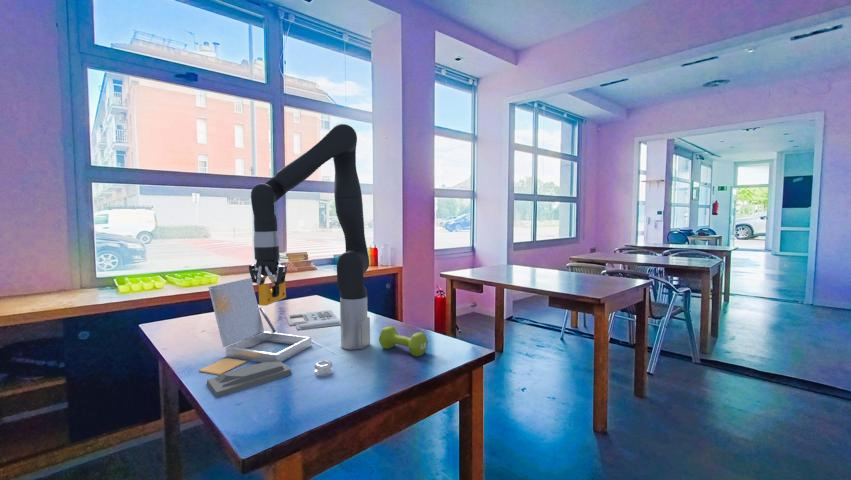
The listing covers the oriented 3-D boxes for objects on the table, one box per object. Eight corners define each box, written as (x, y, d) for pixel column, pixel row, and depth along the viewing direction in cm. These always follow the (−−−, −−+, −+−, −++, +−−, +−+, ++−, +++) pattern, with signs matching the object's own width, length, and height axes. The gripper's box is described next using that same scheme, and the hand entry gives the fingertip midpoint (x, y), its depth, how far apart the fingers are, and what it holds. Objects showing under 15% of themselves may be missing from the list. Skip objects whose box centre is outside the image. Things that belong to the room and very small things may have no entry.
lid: (251, 277, 143) (248, 278, 144) (210, 286, 127) (207, 287, 127) (264, 331, 143) (261, 331, 144) (224, 347, 127) (221, 347, 127)
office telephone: (342, 320, 161) (291, 326, 152) (342, 326, 161) (291, 333, 153) (331, 307, 182) (285, 311, 173) (331, 312, 182) (285, 317, 174)
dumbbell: (430, 352, 130) (430, 331, 130) (416, 360, 124) (416, 337, 123) (391, 343, 140) (391, 323, 139) (376, 349, 133) (376, 329, 132)
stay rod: (277, 334, 143) (276, 308, 142) (275, 335, 142) (275, 309, 141) (261, 332, 145) (260, 306, 145) (259, 333, 145) (258, 307, 144)
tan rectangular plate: (246, 362, 122) (246, 361, 122) (219, 375, 112) (219, 373, 112) (226, 359, 124) (226, 357, 124) (198, 371, 115) (198, 370, 115)
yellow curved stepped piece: (274, 297, 137) (273, 278, 137) (286, 297, 137) (285, 279, 136) (254, 305, 126) (253, 285, 125) (266, 305, 125) (265, 285, 125)
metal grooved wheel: (336, 372, 115) (325, 368, 118) (335, 362, 114) (325, 358, 117) (321, 378, 111) (311, 373, 114) (321, 367, 110) (311, 363, 114)
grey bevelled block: (205, 386, 107) (205, 374, 106) (278, 366, 120) (277, 355, 120) (217, 399, 99) (216, 386, 99) (292, 376, 113) (292, 364, 113)
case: (313, 344, 138) (313, 336, 138) (276, 364, 120) (276, 355, 120) (267, 338, 145) (267, 330, 144) (226, 356, 127) (225, 347, 126)
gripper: (292, 244, 130) (294, 295, 131) (257, 243, 135) (259, 292, 136) (276, 246, 123) (278, 300, 124) (240, 245, 128) (243, 297, 129)
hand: (268, 296), depth 130 cm, fingers closed on yellow curved stepped piece, 4 cm apart
